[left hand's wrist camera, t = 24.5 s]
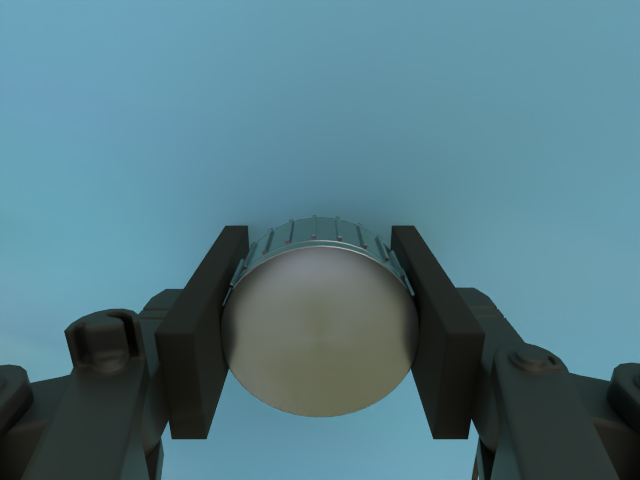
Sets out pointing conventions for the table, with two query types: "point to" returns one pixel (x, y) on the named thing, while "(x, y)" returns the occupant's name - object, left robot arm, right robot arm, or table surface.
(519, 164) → the table surface
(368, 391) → the lid
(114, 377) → the left robot arm
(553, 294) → the table surface
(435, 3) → the table surface
